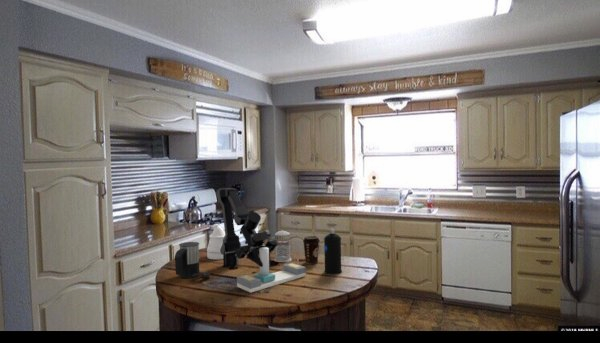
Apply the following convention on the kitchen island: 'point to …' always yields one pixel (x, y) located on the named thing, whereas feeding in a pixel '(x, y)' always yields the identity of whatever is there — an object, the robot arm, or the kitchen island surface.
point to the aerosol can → (332, 253)
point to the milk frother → (188, 261)
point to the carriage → (264, 266)
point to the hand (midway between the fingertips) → (266, 265)
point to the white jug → (215, 243)
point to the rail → (287, 274)
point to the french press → (282, 247)
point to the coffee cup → (311, 249)
